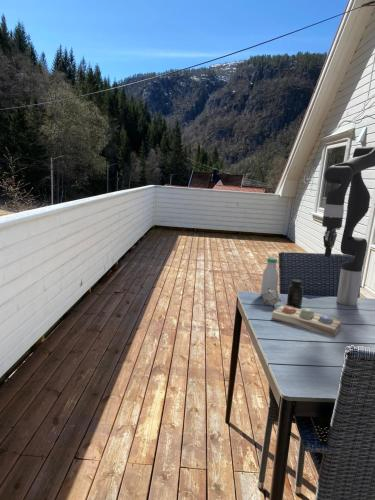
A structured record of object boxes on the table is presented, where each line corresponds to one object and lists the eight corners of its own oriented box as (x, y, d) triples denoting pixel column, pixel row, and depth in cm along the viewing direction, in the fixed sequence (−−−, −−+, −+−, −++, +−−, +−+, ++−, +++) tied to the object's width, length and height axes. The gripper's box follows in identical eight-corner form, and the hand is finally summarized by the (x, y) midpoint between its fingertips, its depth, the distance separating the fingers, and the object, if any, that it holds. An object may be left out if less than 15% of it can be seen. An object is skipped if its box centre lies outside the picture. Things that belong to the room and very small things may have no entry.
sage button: (302, 314, 143) (303, 307, 143) (313, 317, 141) (314, 309, 140) (299, 317, 140) (300, 309, 139) (310, 320, 137) (311, 312, 137)
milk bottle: (276, 300, 168) (280, 260, 164) (260, 298, 169) (264, 259, 165) (275, 295, 175) (279, 257, 171) (260, 293, 176) (264, 256, 173)
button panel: (282, 311, 153) (282, 304, 152) (341, 326, 138) (342, 319, 138) (271, 318, 143) (272, 311, 142) (334, 336, 129) (335, 328, 128)
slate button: (320, 321, 139) (321, 314, 139) (332, 324, 137) (333, 317, 136) (317, 324, 136) (318, 317, 135) (329, 328, 133) (330, 320, 132)
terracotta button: (285, 312, 148) (286, 305, 147) (295, 314, 145) (296, 307, 145) (281, 315, 144) (282, 307, 144) (292, 317, 142) (292, 310, 141)
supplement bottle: (303, 304, 164) (306, 280, 161) (299, 308, 158) (302, 283, 156) (288, 301, 167) (291, 277, 165) (284, 304, 161) (287, 280, 159)
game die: (273, 313, 160) (288, 298, 157) (265, 310, 154) (280, 295, 151) (261, 299, 166) (276, 285, 163) (253, 296, 159) (268, 281, 156)
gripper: (327, 214, 147) (322, 253, 150) (319, 215, 137) (313, 257, 140) (346, 216, 143) (340, 256, 146) (339, 217, 132) (333, 260, 136)
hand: (327, 256), depth 143 cm, fingers closed
